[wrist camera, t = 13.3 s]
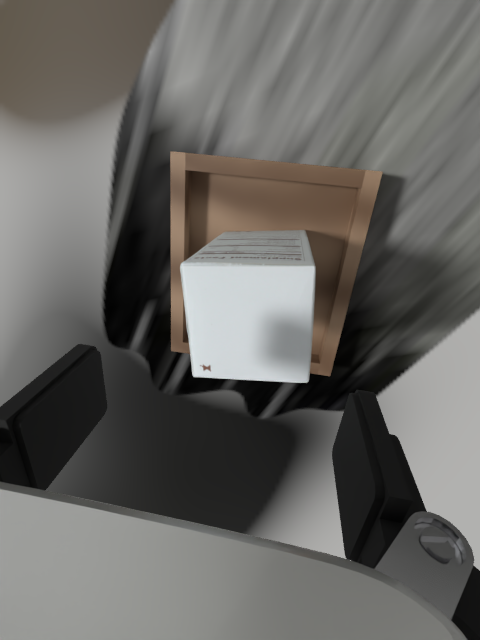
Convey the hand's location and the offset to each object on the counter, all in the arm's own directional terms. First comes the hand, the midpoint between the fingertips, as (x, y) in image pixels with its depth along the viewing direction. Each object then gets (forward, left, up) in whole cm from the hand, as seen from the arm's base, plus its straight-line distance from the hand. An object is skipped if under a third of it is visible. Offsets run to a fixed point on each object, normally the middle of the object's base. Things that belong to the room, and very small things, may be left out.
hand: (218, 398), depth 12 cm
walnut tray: (0, 0, -20) cm, 20 cm away
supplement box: (0, 0, -19) cm, 19 cm away
